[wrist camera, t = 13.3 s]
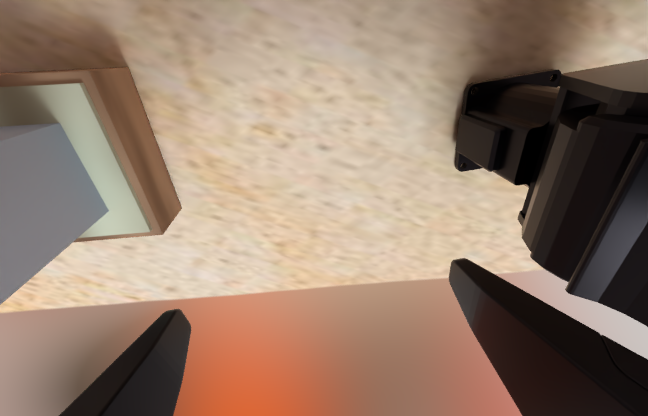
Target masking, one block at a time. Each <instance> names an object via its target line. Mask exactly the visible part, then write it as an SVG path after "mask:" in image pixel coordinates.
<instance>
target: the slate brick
mask: <svg viewBox="0 0 648 416" xmlns="http://www.w3.org/2000/svg"><path fill="white" fill-rule="evenodd" d="M108 211H109V210H108V208H107V207H106V205H105V203H104V201H103V199H102V198H101V196H100V194H99V192H98V190H97V189H96V187H95V185H94V183H93V181H92V180H91V178H90V176H89V174H88V172H87V171H86V169H85V167H84V165H83V163H82V162H81V160H80V158H79V156H78V155H77V153H76V151H75V149H74V147H73V146H72V144H71V142H70V140H69V138H68V137H67V135H66V133H65V131H64V129H63V128H62V126H61V124H60V123H51V124H35V125H19V126H3V127H0V304H2V303H3V302H4V301H5V300H6V299H7V298H9V297H10V296H11V295H12V294H13V293H14V292H16V291H17V290H18V289H19V288H20V287H21V286H22V285H24V284H25V283H26V282H27V281H28V280H29V279H31V278H32V277H33V276H34V275H35V274H36V273H38V272H39V271H40V270H41V269H42V268H43V267H45V266H46V265H47V264H48V263H49V262H50V261H52V260H53V259H54V258H55V257H56V256H57V255H58V254H60V253H61V252H62V251H63V250H64V249H65V248H67V247H68V246H69V245H70V244H71V243H72V242H74V241H75V240H76V239H77V238H78V237H79V236H81V235H82V234H83V233H84V232H85V231H86V230H88V229H89V228H90V227H91V226H92V225H93V224H94V223H96V222H97V221H98V220H99V219H100V218H101V217H103V216H104V215H105V214H106V213H107V212H108Z"/></svg>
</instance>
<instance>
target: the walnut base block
mask: <svg viewBox="0 0 648 416" xmlns="http://www.w3.org/2000/svg"><path fill="white" fill-rule="evenodd" d="M51 123H60V124H61V126H62V128H63V129H64V131H65V133H66V135H67V137H68V138H69V140H70V142H71V144H72V146H73V147H74V149H75V151H76V153H77V155H78V156H79V158H80V160H81V162H82V163H83V165H84V167H85V169H86V171H87V172H88V174H89V176H90V178H91V180H92V181H93V183H94V185H95V187H96V189H97V190H98V192H99V194H100V196H101V198H102V199H103V201H104V203H105V205H106V207H107V208H108V210H109V211H108V212H107V213H106V214H105V215H104V216H103V217H101V218H100V219H99V220H98V221H97V222H96V223H94V224H93V225H92V226H91V227H90V228H89V229H88V230H86V231H85V232H84V233H83V234H82V235H81V236H79V237H78V238H77V239H76V240H75V241H74V242H82V241H94V240H105V239H117V238H128V237H140V236H152V235H163V234H164V232H165V231H166V229H167V228H168V227H169V225H170V224H171V222H172V221H173V220H174V218H175V217H176V216H177V214H178V213H179V211H180V210H181V209H182V208H181V205H180V203H179V200H178V197H177V195H176V192H175V189H174V187H173V184H172V182H171V179H170V176H169V174H168V171H167V168H166V166H165V163H164V160H163V158H162V155H161V153H160V150H159V147H158V145H157V142H156V139H155V137H154V134H153V131H152V129H151V126H150V124H149V121H148V118H147V116H146V113H145V110H144V108H143V105H142V102H141V100H140V97H139V95H138V92H137V89H136V87H135V84H134V81H133V79H132V76H131V73H130V71H129V68H128V67H121V68H100V69H79V70H58V71H37V72H16V73H0V127H3V126H19V125H35V124H51Z"/></svg>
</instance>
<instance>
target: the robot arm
mask: <svg viewBox="0 0 648 416" xmlns="http://www.w3.org/2000/svg"><path fill="white" fill-rule="evenodd" d="M552 75H553V76H552ZM551 76H552V79H551V80H550V77H551ZM558 86H559V87H560V88H558ZM473 88H475V92H474V93H473V94H471V91H472V89H473ZM456 151H457V153H456V161H455V168H456V169H457V170H459V171H461V172H463V171H469V170H475V169H480V168H484V169H486V170H487V171H489V172H491V171H493V172H495V173H496V174H498V175H499V176H501V177H503V178H504V179H506V180H508V181H509V182H511V183H513V184H514V185H525V186H527V187H528V188H529V190H528V193H527V196H526V200H525V203H524V206H523V209H522V211H520V213H519V216H518V220H519V222H520V224H521V225H522V239H523V240H524V242H525V243H526V245H527V247H528V248H529V250H530V251H531V254H530V257H531V258H532V259H533V260H534V261H535V262H537V263H538V264H539V265H540V266H542V267H543V268H544V269H545V270H547V271H549V272H550V273H552V274H554V275H555V276H557V277H559V278H560V279H562V280H565V281H567V282H569V283H568V285H567V287H566V289H565V290H566V291H567V292H568V293H569V294H572V295H575V296H579V297H582V298H585V299H588V300H592V301H595V302H598V303H600V304H603V305H605V306H607V307H610V308H612V309H615V310H617V311H619V312H621V313H624V314H626V315H627V316H630V317H631V318H633V319H635V320H637V321H639V322H641V323H642V324H644V325H646V326H647V327H648V59H645V60H639V61H633V62H628V63H622V64H616V65H610V66H604V67H598V68H592V69H586V70H581V71H575V72H569V73H563V74H561V72H560V71H559V70H552V69H551V70H545V71H539V72H533V73H527V74H521V75H516V76H510V77H504V78H498V79H492V80H486V81H481V82H475V83H471V84H469V85H468V86H467V87H466V89H465V92H464V100H463V107H462V115H461V117H460V119H459V126H458V134H457V142H456ZM462 163H464V165H463V166H462V167H461V164H462ZM449 282H450V285H451V287H452V289H453V291H454V293H455V296H456V298H457V300H458V302H459V304H460V306H461V309H462V311H463V313H464V315H465V317H466V319H467V322H468V324H469V326H470V328H471V329H472V331H473V333H474V335H475V337H476V338H477V340H478V342H479V343H480V345H481V346H482V348H483V350H484V352H485V353H486V355H487V357H488V358H489V360H490V362H491V363H492V365H493V367H494V368H495V370H496V372H497V373H498V375H499V377H500V379H501V380H502V382H503V384H504V385H505V387H506V389H507V390H508V392H509V394H510V395H511V397H512V399H513V400H514V402H515V404H516V405H517V407H518V409H519V411H520V412H521V414H522V416H648V360H647V359H646V358H644V357H642V356H640V355H638V354H636V353H634V352H633V351H631V350H629V349H627V348H625V347H623V346H621V345H620V344H618V343H616V342H614V341H613V340H611V339H609V338H607V337H606V336H603V335H600V334H599V333H598V332H596V331H595V330H593V329H591V328H589V327H588V326H586V325H584V324H582V323H580V322H579V321H577V320H575V319H573V318H571V317H570V316H568V315H566V314H564V313H563V312H561V311H559V310H557V309H555V308H553V307H552V306H550V305H548V304H546V303H544V302H543V301H541V300H539V299H538V298H536V297H534V296H532V295H530V294H529V293H526V292H525V291H523V290H521V289H520V288H518V287H516V286H514V285H512V284H511V283H509V282H507V281H505V280H503V279H502V278H500V277H498V276H496V275H495V274H493V273H491V272H489V271H488V270H486V269H484V268H482V267H480V266H479V265H477V264H475V263H473V262H472V261H470V260H468V259H465V258H462V259H456V260H453V261H452V262H451V267H450V274H449ZM190 334H191V325H190V323H189V321H188V320H187V318H186V317H185V315H184V314H183V312H182V311H181V310H180V309H174V310H169V311H166V312H164V313H163V314H162V315H161V316H160V317H159V318H158V319H157V320H156V321H155V322H154V323H153V324H152V325H151V326H150V327H149V328H148V329H147V330H146V331H145V332H144V333H143V334H142V335H141V336H140V337H138V338H137V340H135V342H133V343H132V344H131V345H130V346H129V347H128V348H127V349H126V350H125V351H124V352H123V353H122V354H121V355H120V356H119V357H118V358H117V359H116V360H115V361H114V362H113V363H112V364H111V365H110V366H109V367H108V368H107V369H106V370H105V371H104V372H103V373H102V374H101V375H100V376H99V377H98V378H97V379H96V380H95V381H94V382H93V383H92V384H91V385H90V386H89V387H88V388H87V389H86V390H85V391H84V392H82V394H80V396H79V397H78V398H77V399H75V400H74V401H73V402H72V403H71V404H70V405H69V406H68V407H67V408H66V409H65V410H64V411H63V412H62V413H61V414H60V415H59V416H173V414H174V410H175V406H176V403H177V399H178V395H179V392H180V388H181V384H182V380H183V374H184V369H185V363H186V357H187V351H188V345H189V339H190Z"/></svg>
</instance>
